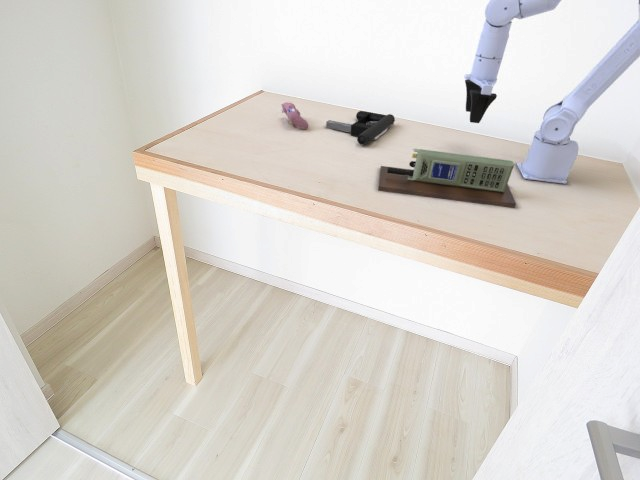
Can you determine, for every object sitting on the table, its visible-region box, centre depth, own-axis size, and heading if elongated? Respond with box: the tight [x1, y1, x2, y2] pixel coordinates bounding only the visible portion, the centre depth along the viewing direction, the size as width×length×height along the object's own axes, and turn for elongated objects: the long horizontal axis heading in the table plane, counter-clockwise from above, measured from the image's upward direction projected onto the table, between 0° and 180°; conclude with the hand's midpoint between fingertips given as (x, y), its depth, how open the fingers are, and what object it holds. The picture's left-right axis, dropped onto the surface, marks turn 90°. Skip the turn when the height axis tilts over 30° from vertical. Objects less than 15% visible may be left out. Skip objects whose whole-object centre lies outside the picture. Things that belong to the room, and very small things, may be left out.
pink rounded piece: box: [280, 100, 309, 130], centre depth 115 cm, size 10×5×7 cm, turn 17°
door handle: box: [325, 110, 396, 146], centre depth 114 cm, size 3×20×16 cm
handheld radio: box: [387, 148, 515, 193], centre depth 88 cm, size 7×3×25 cm
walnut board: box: [377, 165, 517, 209], centre depth 90 cm, size 28×10×1 cm, turn 81°
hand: (472, 116), depth 100 cm, fingers open, 7 cm apart
